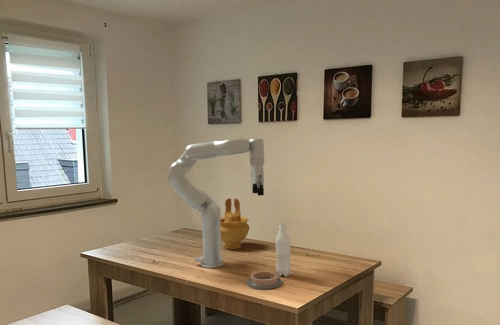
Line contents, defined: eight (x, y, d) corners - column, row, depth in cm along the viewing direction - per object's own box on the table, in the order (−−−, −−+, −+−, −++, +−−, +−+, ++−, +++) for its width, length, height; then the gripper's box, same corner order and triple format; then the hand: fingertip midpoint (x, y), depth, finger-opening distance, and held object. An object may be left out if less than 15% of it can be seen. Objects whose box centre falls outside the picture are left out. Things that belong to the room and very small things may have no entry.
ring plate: (249, 290, 172) (249, 282, 172) (244, 278, 188) (244, 271, 188) (285, 288, 174) (285, 280, 174) (277, 276, 190) (277, 269, 190)
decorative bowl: (211, 250, 238) (209, 200, 237) (221, 241, 259) (220, 196, 257) (245, 252, 234) (244, 201, 232) (253, 243, 254) (252, 196, 253)
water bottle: (275, 273, 195) (274, 222, 194) (289, 272, 195) (288, 221, 194) (277, 278, 188) (276, 225, 186) (292, 277, 188) (291, 224, 187)
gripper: (246, 161, 217) (247, 192, 218) (254, 162, 200) (255, 196, 201) (259, 161, 219) (260, 192, 220) (268, 162, 202) (269, 195, 203)
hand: (258, 194), depth 210 cm, fingers open, 9 cm apart
